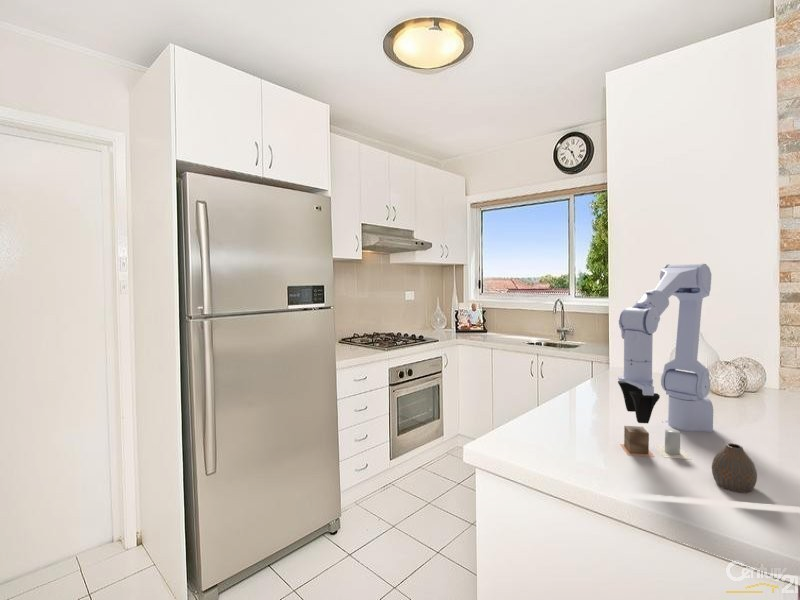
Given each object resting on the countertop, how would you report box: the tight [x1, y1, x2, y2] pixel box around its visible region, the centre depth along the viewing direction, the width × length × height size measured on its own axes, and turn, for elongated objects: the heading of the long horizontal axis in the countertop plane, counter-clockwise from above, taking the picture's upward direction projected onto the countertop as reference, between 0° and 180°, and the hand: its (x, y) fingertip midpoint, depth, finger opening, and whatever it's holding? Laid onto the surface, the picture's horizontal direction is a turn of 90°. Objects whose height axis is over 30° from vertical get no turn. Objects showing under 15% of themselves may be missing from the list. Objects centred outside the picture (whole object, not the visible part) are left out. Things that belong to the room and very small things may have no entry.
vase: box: [711, 443, 758, 494], centre depth 82 cm, size 7×7×9 cm
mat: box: [619, 443, 692, 460], centre depth 98 cm, size 13×8×1 cm, turn 77°
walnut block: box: [623, 425, 650, 454], centre depth 98 cm, size 4×4×5 cm
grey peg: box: [664, 428, 682, 455], centre depth 96 cm, size 3×3×5 cm
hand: (637, 416), depth 98 cm, fingers open, 7 cm apart
